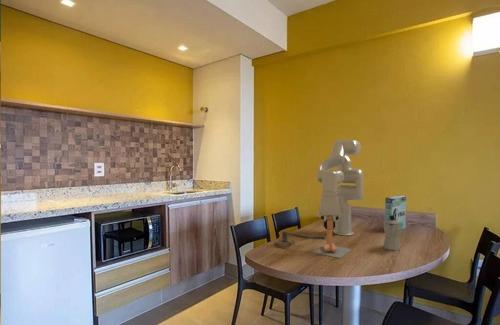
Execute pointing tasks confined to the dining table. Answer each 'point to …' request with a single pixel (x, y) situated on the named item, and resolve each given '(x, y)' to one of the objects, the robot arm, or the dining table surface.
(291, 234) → the stand
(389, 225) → the coffee maker
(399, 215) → the gum box
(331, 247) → the orange block
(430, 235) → the dining table surface
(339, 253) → the mat
